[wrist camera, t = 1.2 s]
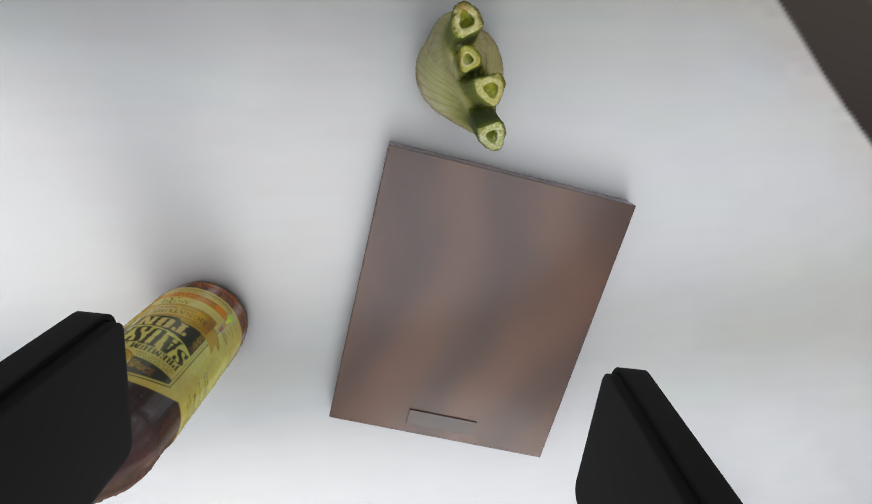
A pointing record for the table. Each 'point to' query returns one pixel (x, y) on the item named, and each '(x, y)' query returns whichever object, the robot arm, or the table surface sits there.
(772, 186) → the table surface
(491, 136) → the fennel bulb
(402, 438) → the table surface
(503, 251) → the cutting board
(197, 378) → the sauce bottle
